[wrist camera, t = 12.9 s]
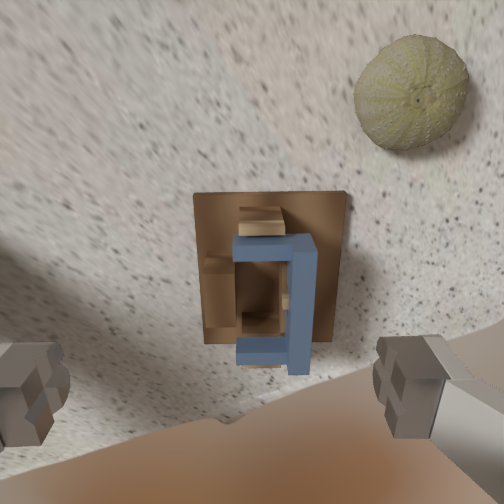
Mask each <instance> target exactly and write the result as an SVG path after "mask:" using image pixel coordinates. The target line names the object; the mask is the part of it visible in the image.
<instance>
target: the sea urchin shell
mask: <svg viewBox="0 0 504 504" xmlns="http://www.w3.org/2000/svg"><path fill="white" fill-rule="evenodd" d="M465 64H466V63H464V62H463V61H462V59H461V58H460V57H459V56H458V55H457V53H456V51H455V50H454V49H452V48H450V47H448V46H447V45H445V44H444V43H442V42H441V41H439V40H438V39H436V38H433V37H432V38H431V37H427V36H422V35H416V34H414V35H410V36H406V37H405V36H404V37H402V38H400V39H398V40H396V41H395V42H393V43H392V44H390V45H389V46H387V47H385V48H384V49H383V50H382V51H381V52H380V53H379V54H378V55H377V56H376V57H375V58H374V59H373V60H372V61H371V62H370V63H369V64H367V67H366V68H365V70H364V71H363V73H362V75H361V76H360V78H359V79H358V81H357V84H356V87H355V92H354V100H355V109H356V112H355V113H356V114H357V117H358V119H359V121H360V123H361V127H362V129H363V131H364V132H365V133H366V134H367V136H368V137H369V138H370V139H371V140H372V141H373V142H374V143H375V144H376V145H378V146H380V147H383V148H384V149H400V150H405V149H409V148H413V147H419V146H422V145H425V144H427V143H429V142H431V141H433V140H435V139H437V138H439V137H440V138H441V137H442V136H443V135H444V134H445V133H446V132H447V131H448V130H450V129H451V127H452V125H453V124H454V123H455V121H456V119H457V118H458V117H459V116H460V115H461V111H462V108H463V104H464V101H465V99H466V95H467V93H468V92H467V86H468V78H469V74H468V71H467V68H466V65H465Z"/></svg>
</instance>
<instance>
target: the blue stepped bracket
mask: <svg viewBox="0 0 504 504" xmlns="http://www.w3.org/2000/svg"><path fill="white" fill-rule="evenodd" d="M232 250H233V262H244V261H287V286H288V291H289V302H288V309H286V317H285V336H283V337H237V340H236V365H284V364H287V369H288V375H309V371H310V357H311V343H312V328H313V314H314V300H315V286H316V272H317V258H318V251H317V249H316V246H315V244H314V241H313V239H312V236H311V234H310V233H302V234H285V235H258V236H239V234H236V235H233V244H232Z"/></svg>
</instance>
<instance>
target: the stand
mask: <svg viewBox="0 0 504 504" xmlns="http://www.w3.org/2000/svg"><path fill="white" fill-rule="evenodd" d="M346 195H347V193H346V192H345V191H288V192H214V193H194V194H193V204H194V216H195V229H196V242H197V255H198V268H199V281H200V294H201V306H202V319H203V332H204V344H236V340H237V337H283V336H285V317H286V309H288V302H289V291H288V286H287V261H244V262H233V250H232V244H233V235H236V234H239V236H258V235H285V234H302V233H310V234H311V236H312V239H313V241H314V244H315V246H316V249H317V251H318V258H317V272H316V286H315V300H314V314H313V328H312V342H332V336H333V326H334V316H335V306H336V296H337V286H338V276H339V266H340V256H341V245H342V235H343V225H344V215H345V205H346ZM242 368H281V365H242Z"/></svg>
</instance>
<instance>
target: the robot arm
mask: <svg viewBox="0 0 504 504" xmlns="http://www.w3.org/2000/svg"><path fill="white" fill-rule="evenodd" d="M376 351H377V353H378V355H379V357H380V358H379V359H378V360H377V361H376V362H375V363H374V365H373V385H374V390H375V393H376V396H377V398H378V401H379V402H381V403H382V404H383V405H384V406H386V408H385V414H384V416H385V418H386V421H387V423H388V426H389V428H390V430H391V433H392V435H393V438H408V439H409V438H410V439H412V438H413V439H418V438H419V439H430V441H431V442H432V443H433V444H434V445H435V446H436V447H437V448H438V449H440V450H441V451H442V452H443V453H444V454H445V455H446V456H447V457H448V458H449V459H450V460H451V461H453V462H454V463H455V464H456V465H457V466H458V467H459V468H460V469H461V470H462V471H463V472H464V473H466V474H467V475H468V476H469V477H470V478H471V479H472V480H473V481H474V482H475V483H476V484H478V485H479V486H480V487H481V488H482V489H483V490H484V491H485V492H486V493H487V494H488V495H490V496H491V497H492V498H493V499H494V500H495V501H496V502H497V503H498V504H504V392H503V391H502V390H500V389H498V388H497V387H495V386H493V385H491V384H489V383H487V382H486V381H484V380H482V379H475V378H474V377H473V375H472V374H471V373H470V372H469V370H468V369H467V368H466V366H464V364H463V362H462V361H461V360H460V358H459V357H458V356H457V355H456V353H455V352H454V351H453V349H452V348H451V347H450V345H449V344H448V343H447V341H446V340H445V339H444V338H443V337H442V336H441V335H439V334H435V335H419V336H391V337H379V339H378V341H377V346H376ZM63 356H64V353H63V350H62V347H61V345H60V344H58V343H56V342H17V343H15V342H0V453H1V452H2V451H3V450H4V447H22V446H41V445H42V443H43V441H44V440H45V438H46V436H47V434H48V432H49V431H50V429H51V427H52V425H53V423H54V419H53V416H52V414H54V413H55V412H56V411H58V410H59V409H60V408H62V407H63V405H64V403H65V401H66V399H67V398H68V393H69V389H70V375H69V371H68V369H67V368H66V367H65V366H64V365H63V364H62V363H60V361H61V360H62V358H63Z"/></svg>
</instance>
